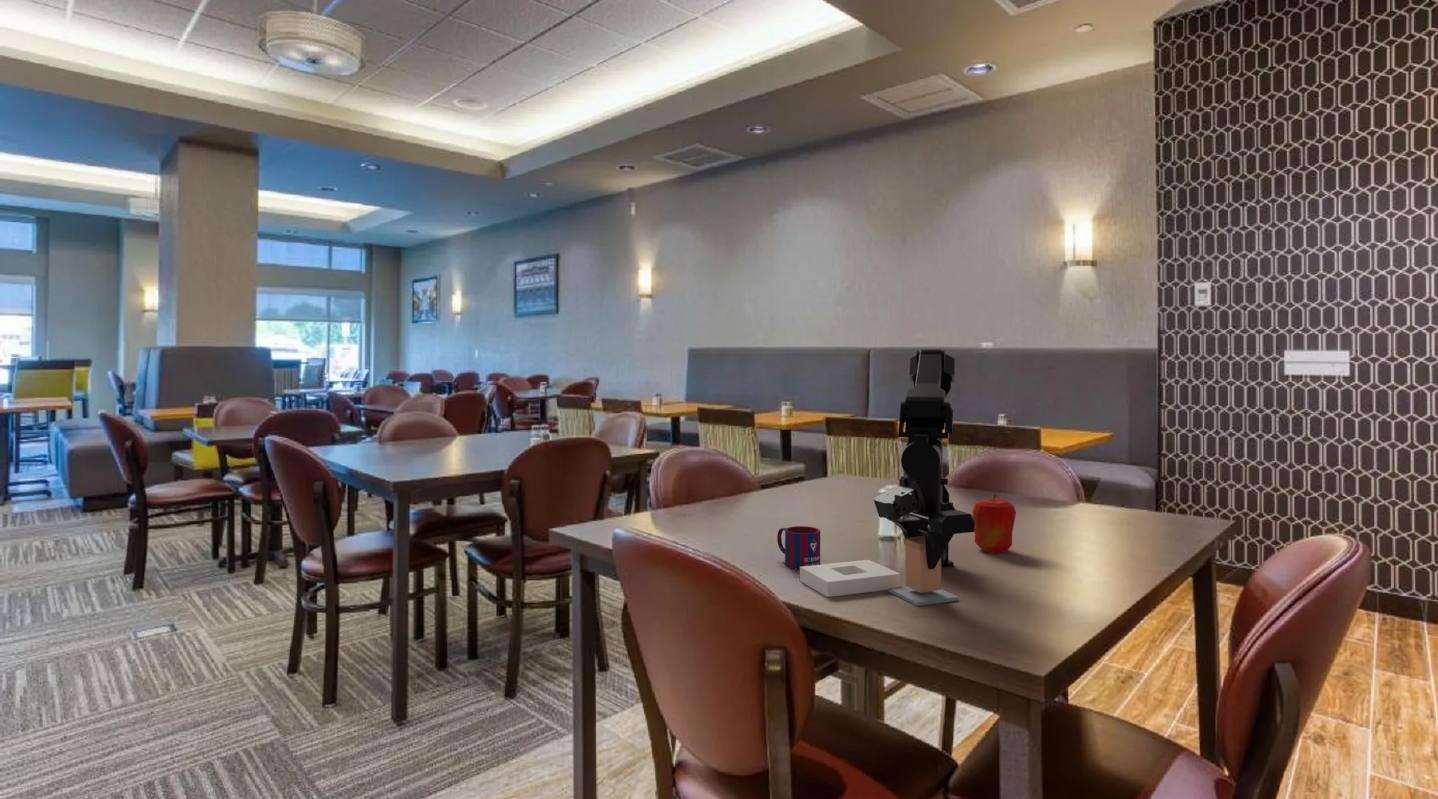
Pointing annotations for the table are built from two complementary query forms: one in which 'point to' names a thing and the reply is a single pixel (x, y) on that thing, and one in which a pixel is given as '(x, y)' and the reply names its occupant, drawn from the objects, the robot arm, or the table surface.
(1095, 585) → the table surface
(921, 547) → the plug
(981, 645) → the table surface
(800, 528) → the mug
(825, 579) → the white flat block
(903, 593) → the pad
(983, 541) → the apple
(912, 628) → the table surface
